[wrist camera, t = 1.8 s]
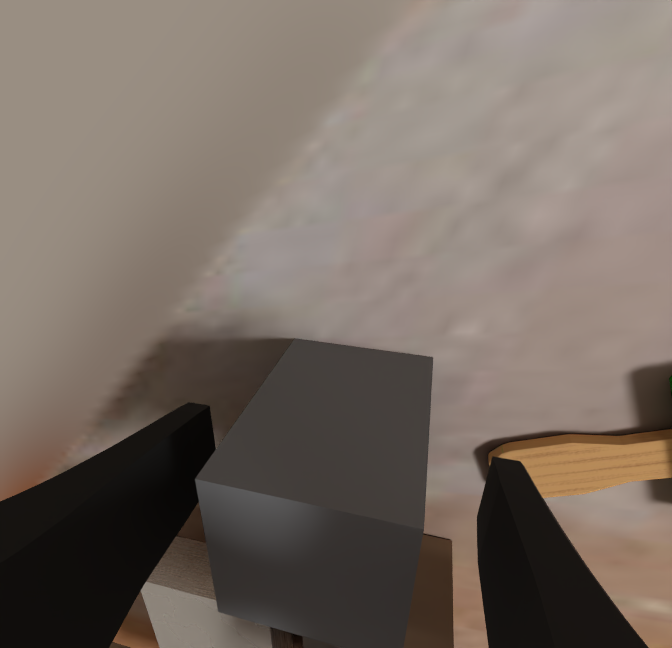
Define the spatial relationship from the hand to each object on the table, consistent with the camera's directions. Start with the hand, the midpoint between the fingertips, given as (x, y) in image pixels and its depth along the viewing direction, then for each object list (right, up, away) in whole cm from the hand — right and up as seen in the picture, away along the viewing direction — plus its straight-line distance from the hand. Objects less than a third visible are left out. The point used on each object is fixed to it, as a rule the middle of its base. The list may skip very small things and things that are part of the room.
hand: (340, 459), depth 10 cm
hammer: (0, -5, +5) cm, 7 cm away
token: (-5, -9, +9) cm, 13 cm away
